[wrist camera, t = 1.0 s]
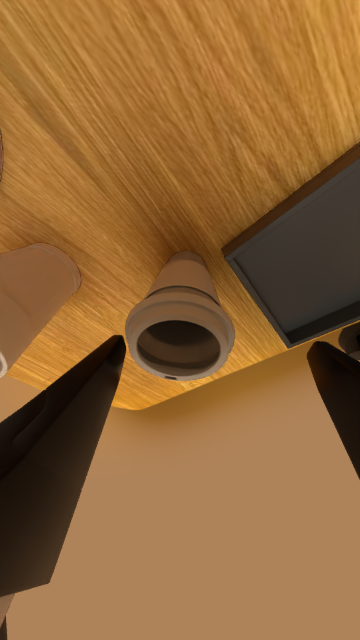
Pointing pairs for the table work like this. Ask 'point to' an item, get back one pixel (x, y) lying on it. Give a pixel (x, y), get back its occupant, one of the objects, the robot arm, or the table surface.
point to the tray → (306, 255)
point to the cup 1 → (31, 295)
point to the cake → (1, 157)
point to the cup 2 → (180, 323)
